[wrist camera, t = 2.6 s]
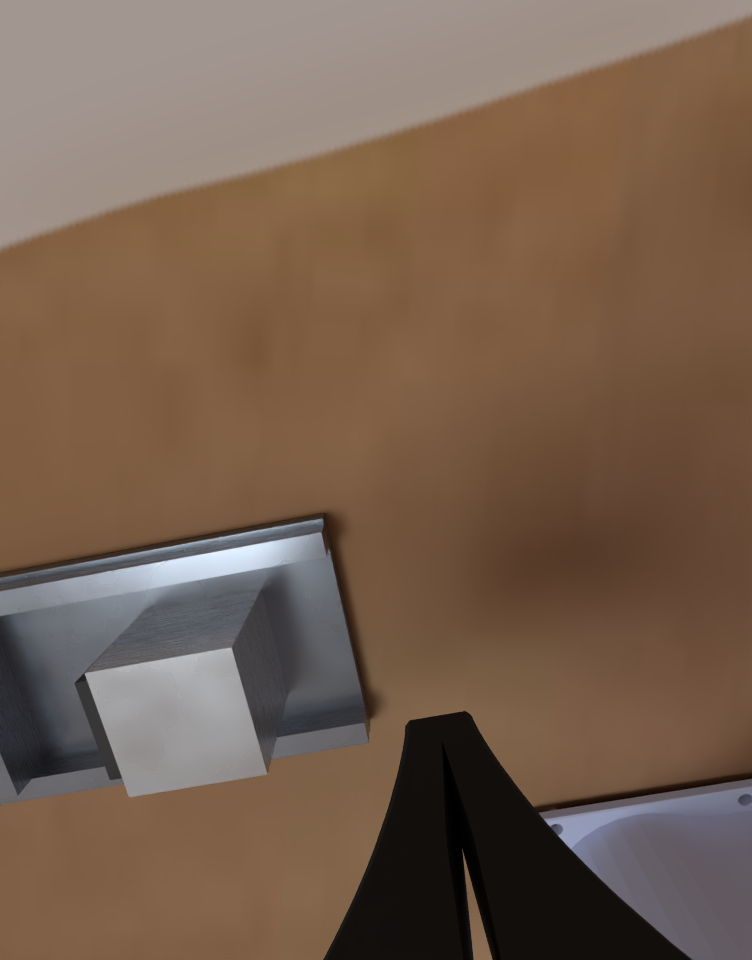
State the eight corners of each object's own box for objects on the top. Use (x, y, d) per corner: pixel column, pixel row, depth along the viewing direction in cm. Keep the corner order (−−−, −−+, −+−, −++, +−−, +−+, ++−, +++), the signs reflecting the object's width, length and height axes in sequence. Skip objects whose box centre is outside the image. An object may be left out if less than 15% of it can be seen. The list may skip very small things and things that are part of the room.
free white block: (261, 589, 16) (231, 647, 13) (288, 694, 17) (267, 774, 14) (126, 613, 17) (62, 677, 13) (160, 716, 17) (108, 800, 14)
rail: (324, 512, 16) (308, 559, 13) (370, 719, 18) (369, 818, 14) (-241, 617, 17) (-427, 693, 13) (-146, 806, 19) (-284, 923, 15)
